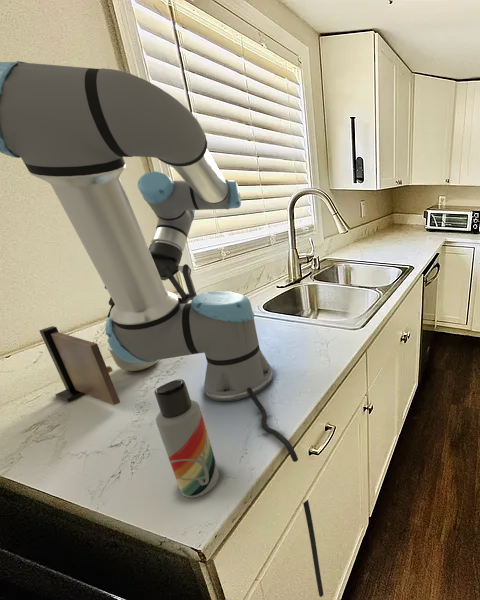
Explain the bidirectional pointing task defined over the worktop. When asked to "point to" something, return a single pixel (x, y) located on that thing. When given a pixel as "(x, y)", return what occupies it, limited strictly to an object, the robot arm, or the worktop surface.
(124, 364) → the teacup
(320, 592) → the robot arm
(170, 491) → the worktop surface
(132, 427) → the worktop surface
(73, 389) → the door post
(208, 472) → the lotion bottle
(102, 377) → the door
